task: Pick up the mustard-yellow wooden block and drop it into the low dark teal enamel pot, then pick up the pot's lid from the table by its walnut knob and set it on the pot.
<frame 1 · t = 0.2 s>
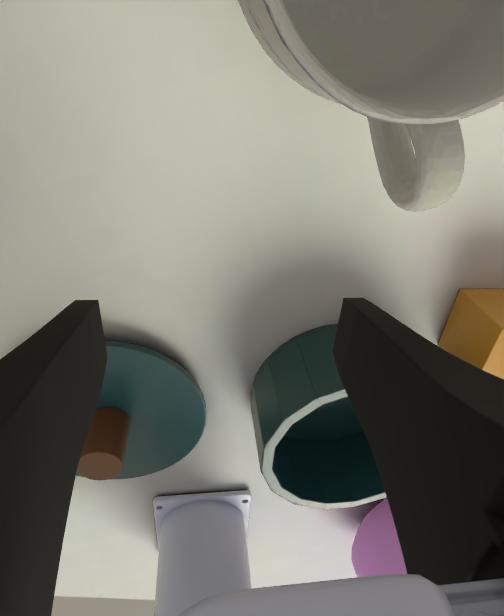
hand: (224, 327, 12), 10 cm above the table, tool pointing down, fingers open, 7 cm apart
block: (479, 317, 26), on the table
lid: (111, 415, 26), point 1 cm above the table
teapot: (409, 510, 39), on the table
pot: (331, 389, 28), on the table
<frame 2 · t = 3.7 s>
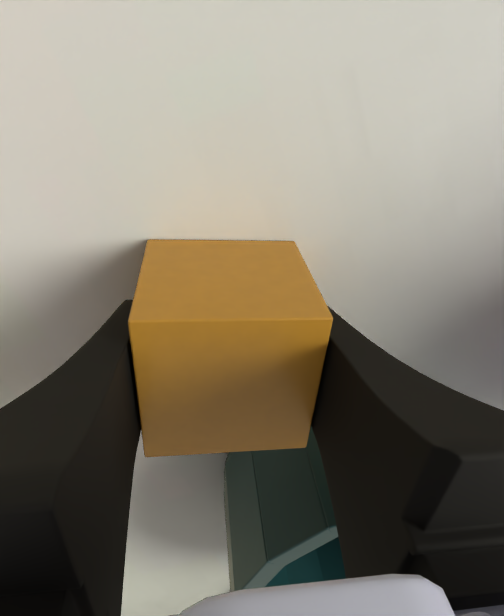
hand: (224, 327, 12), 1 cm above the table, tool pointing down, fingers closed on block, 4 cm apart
block: (221, 302, 13), on the table, touching gripper
pot: (345, 463, 19), on the table
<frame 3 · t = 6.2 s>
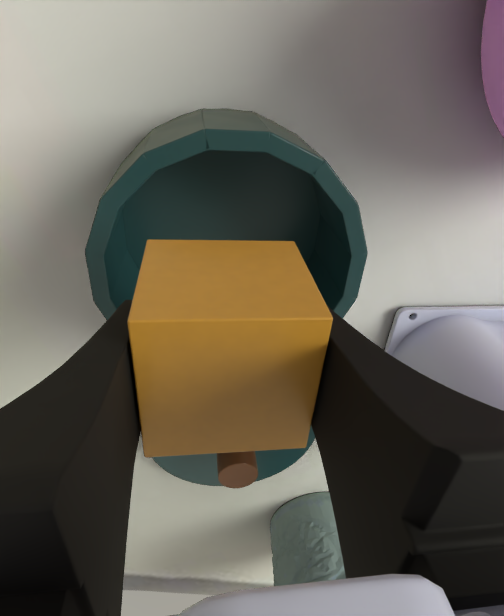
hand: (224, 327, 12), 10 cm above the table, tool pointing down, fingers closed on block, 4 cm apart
block: (220, 302, 13), point 9 cm above the table, touching gripper
lid: (233, 428, 29), point 1 cm above the table
pot: (223, 228, 21), on the table
green embossed cup: (310, 516, 38), on the table
when the fingers open (3 cm above the table, at t = 8.8 s): block drops 2 cm, resting on pot.
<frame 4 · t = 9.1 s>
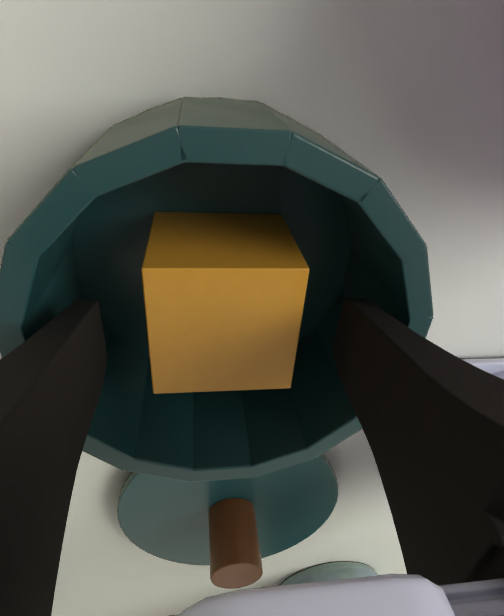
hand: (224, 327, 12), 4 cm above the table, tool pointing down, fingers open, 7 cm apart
block: (218, 268, 15), resting on pot
lid: (230, 502, 23), point 1 cm above the table
pot: (217, 264, 15), on the table
green embossed cup: (322, 585, 33), on the table
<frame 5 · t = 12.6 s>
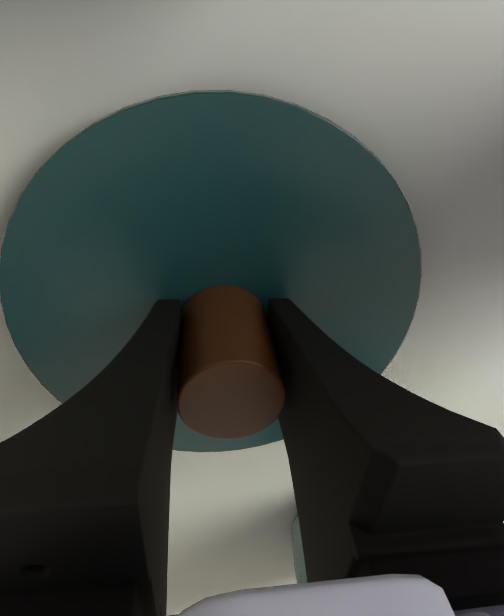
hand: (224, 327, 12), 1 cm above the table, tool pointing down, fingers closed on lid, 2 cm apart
lid: (222, 312, 13), point 1 cm above the table, touching gripper
green embossed cup: (362, 515, 22), on the table
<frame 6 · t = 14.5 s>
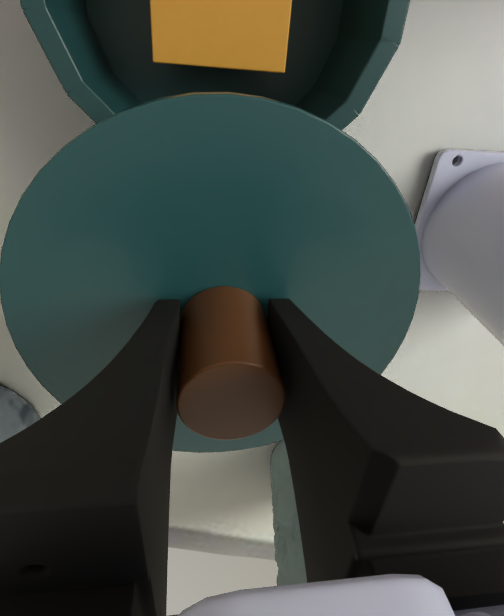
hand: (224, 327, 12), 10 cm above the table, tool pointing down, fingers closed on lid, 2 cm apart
lid: (222, 313, 13), point 10 cm above the table, touching gripper
green embossed cup: (318, 454, 33), on the table
when the fingers open (6 cm above the table, at t = 16.6 s): lid stays where it is, resting on pot.
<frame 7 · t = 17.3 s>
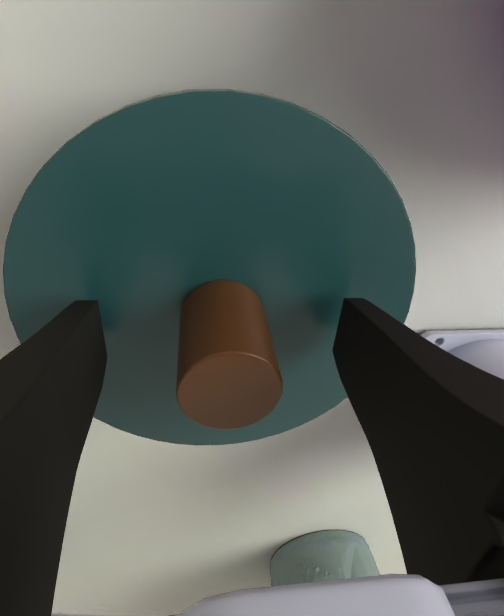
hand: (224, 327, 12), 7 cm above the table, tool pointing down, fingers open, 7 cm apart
lid: (221, 306, 13), point 5 cm above the table, touching pot
green embossed cup: (315, 554, 35), on the table
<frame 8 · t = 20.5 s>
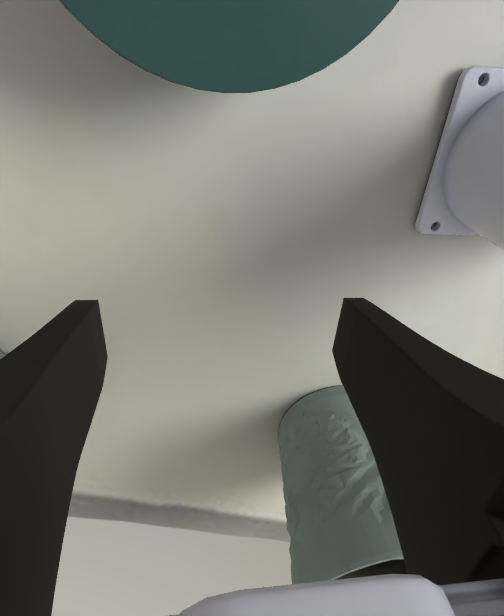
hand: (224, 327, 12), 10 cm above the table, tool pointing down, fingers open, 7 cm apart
green embossed cup: (328, 423, 31), on the table
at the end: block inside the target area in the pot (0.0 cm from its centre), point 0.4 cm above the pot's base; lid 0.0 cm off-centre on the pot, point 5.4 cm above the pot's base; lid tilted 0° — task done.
